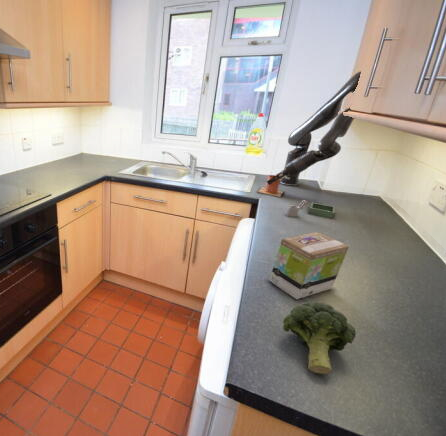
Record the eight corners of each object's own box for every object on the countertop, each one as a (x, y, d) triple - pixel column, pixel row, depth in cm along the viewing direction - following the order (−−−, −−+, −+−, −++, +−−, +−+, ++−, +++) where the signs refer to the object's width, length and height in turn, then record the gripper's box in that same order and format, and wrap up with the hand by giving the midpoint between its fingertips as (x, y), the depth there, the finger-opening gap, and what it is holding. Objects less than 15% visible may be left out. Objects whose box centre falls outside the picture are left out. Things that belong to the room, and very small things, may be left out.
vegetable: (271, 354, 61) (277, 292, 70) (302, 382, 66) (304, 320, 74) (338, 358, 52) (335, 286, 61) (370, 390, 56) (363, 318, 65)
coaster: (261, 187, 181) (261, 187, 180) (283, 191, 174) (283, 191, 174) (257, 192, 171) (257, 191, 171) (280, 197, 165) (280, 196, 165)
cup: (271, 189, 176) (274, 174, 173) (279, 192, 171) (283, 177, 167) (262, 190, 175) (265, 175, 171) (270, 193, 169) (274, 178, 165)
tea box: (298, 301, 81) (313, 254, 75) (268, 281, 90) (280, 237, 84) (333, 289, 87) (350, 244, 81) (301, 271, 95) (315, 229, 89)
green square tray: (310, 207, 151) (311, 202, 149) (332, 212, 146) (334, 206, 144) (308, 213, 143) (310, 207, 142) (332, 218, 138) (334, 212, 137)
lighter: (287, 216, 139) (292, 200, 136) (286, 214, 141) (290, 198, 137) (303, 217, 139) (308, 201, 135) (301, 215, 140) (306, 199, 137)
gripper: (297, 173, 154) (268, 189, 166) (306, 169, 163) (278, 185, 175) (288, 161, 155) (261, 178, 168) (298, 158, 164) (271, 174, 177)
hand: (270, 181), depth 171 cm, fingers closed on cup, 6 cm apart
